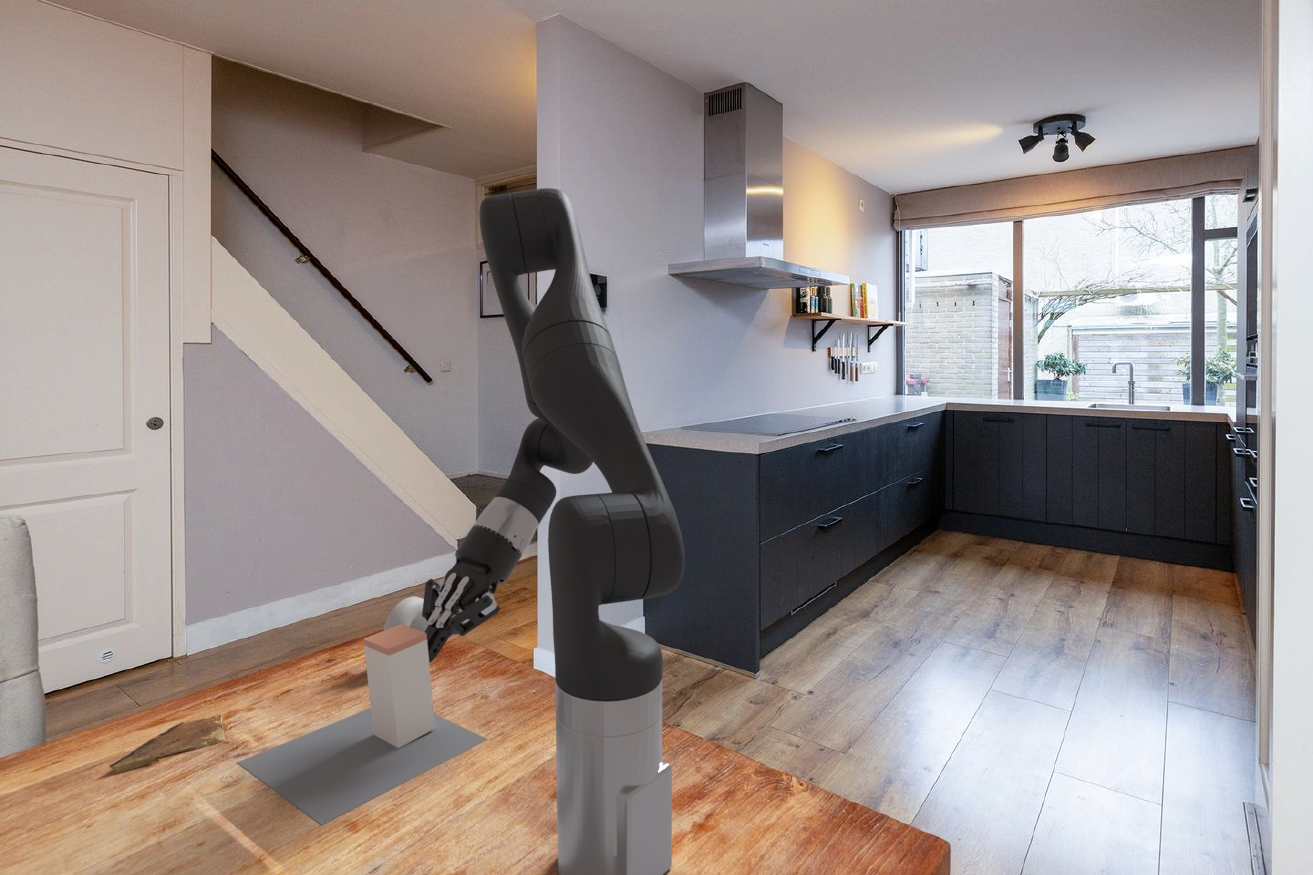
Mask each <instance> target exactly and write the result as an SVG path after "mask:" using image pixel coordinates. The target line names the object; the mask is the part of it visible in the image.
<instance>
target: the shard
mask: <svg viewBox="0 0 1313 875" xmlns="http://www.w3.org/2000/svg"><path fill="white" fill-rule="evenodd" d="M224 729H225V728H224V726H223V715H222V714H214V715H211V716H206V717H203V718H197V719H193V720H189V721H182V722H180V723H178V724H175V725H174V726H172V727H170V728H168V729H166V730H165V731H164V732H162V733H160V734H158V735H156V736H154V737H153V738H151V739H149V740H148V741H146V742H144V743H143V744H142V745H140V746H138V747H137V748H136V749H134V750H133V751H131V752H130V753H129V754H127V755H125V756H123V757H121V758H120V759H118V760H117V761H115V762H114V763H112V764H110V765H109V766H108V768H109V769H113V770H114V774H118V773H122V772H124V771H125V772H126V771H129V770H132V769H136V768H140V767H143V766H146V765H149V764H153V763H157V762H160V760H159V759H158V758H162V757H166V756H171V755H174V754H177V753H178V754H179V753H183V752H186V751H192V750H195V749H201V748H204V747H208V746H211V745H215V744H218V743H222V742H225V741H226V737H225V734H224V733H225V731H224Z"/></svg>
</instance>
